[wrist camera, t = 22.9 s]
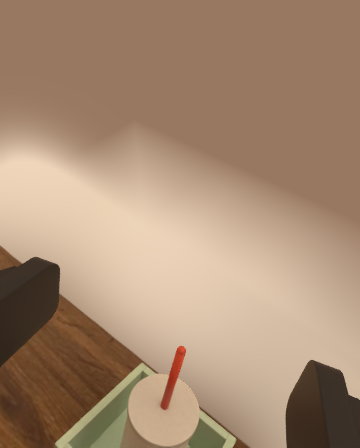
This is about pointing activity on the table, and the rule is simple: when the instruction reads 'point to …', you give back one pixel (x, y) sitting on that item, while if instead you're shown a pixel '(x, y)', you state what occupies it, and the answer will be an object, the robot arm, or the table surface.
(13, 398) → the table surface
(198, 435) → the bin
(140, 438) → the straw cup
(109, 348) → the table surface
